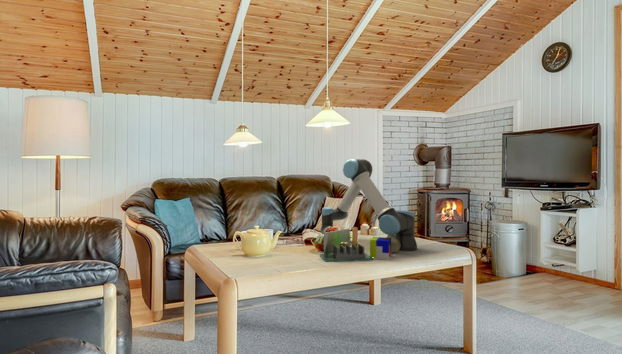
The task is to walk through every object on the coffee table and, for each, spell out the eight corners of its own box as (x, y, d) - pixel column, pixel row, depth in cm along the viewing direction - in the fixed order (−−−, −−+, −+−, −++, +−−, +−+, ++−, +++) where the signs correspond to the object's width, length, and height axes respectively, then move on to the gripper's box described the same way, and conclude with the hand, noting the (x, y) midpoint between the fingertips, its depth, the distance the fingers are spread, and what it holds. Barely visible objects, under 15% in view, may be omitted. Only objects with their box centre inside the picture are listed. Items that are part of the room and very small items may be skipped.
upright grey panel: (347, 249, 244) (347, 228, 244) (350, 249, 242) (350, 229, 242) (322, 253, 231) (323, 232, 230) (325, 254, 229) (326, 232, 229)
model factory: (364, 254, 237) (364, 226, 237) (372, 259, 222) (373, 230, 222) (319, 255, 233) (319, 227, 232) (325, 261, 218) (325, 231, 217)
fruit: (402, 252, 245) (400, 231, 247) (400, 252, 236) (398, 231, 238) (384, 252, 248) (383, 232, 250) (382, 253, 239) (380, 232, 241)
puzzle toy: (388, 259, 225) (388, 240, 224) (370, 257, 228) (370, 239, 228) (390, 255, 234) (391, 237, 234) (373, 254, 237) (373, 236, 237)
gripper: (340, 238, 269) (350, 245, 246) (320, 239, 267) (328, 246, 244) (340, 227, 269) (350, 232, 246) (320, 227, 267) (328, 233, 243)
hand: (339, 239), depth 245 cm, fingers closed
